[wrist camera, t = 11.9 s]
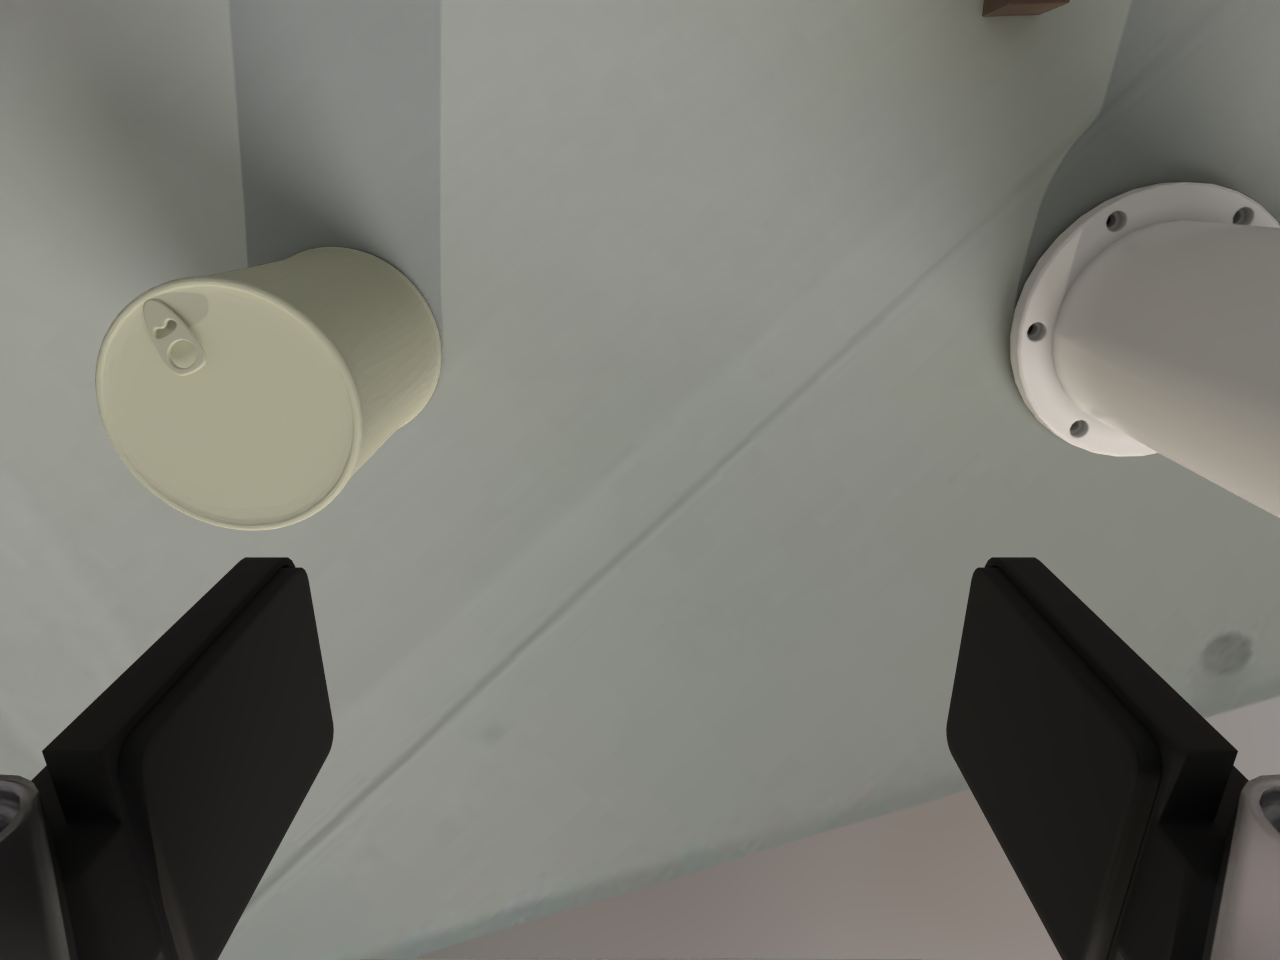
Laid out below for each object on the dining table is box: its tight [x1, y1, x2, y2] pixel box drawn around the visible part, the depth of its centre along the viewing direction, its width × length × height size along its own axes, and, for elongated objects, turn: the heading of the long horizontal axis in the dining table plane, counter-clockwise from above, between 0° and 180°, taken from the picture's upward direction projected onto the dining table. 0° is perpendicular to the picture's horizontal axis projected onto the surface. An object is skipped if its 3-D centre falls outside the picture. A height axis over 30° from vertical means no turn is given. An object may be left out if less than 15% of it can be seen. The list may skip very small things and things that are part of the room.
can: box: [95, 247, 442, 530], centre depth 32 cm, size 9×9×12 cm
